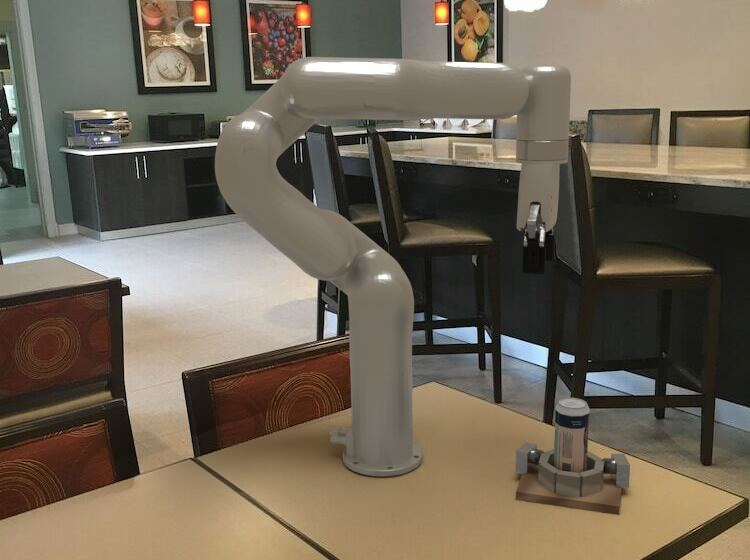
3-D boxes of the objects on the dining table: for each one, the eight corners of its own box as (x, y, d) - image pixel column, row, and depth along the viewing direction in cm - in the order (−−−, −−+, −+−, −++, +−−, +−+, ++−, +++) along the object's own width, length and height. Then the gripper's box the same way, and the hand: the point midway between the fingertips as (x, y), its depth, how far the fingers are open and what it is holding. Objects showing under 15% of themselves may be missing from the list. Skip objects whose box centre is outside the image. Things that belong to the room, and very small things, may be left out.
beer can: (593, 485, 113) (597, 406, 110) (564, 490, 112) (567, 411, 109) (574, 470, 117) (578, 394, 115) (546, 475, 116) (549, 399, 113)
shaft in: (545, 468, 118) (546, 446, 118) (535, 477, 116) (536, 455, 115) (525, 462, 120) (525, 441, 119) (515, 472, 117) (516, 450, 116)
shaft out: (605, 487, 112) (607, 464, 112) (600, 475, 116) (601, 453, 115) (628, 487, 112) (630, 464, 111) (622, 475, 116) (624, 453, 115)
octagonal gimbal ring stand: (515, 499, 112) (516, 472, 111) (527, 465, 122) (528, 440, 121) (619, 514, 107) (620, 486, 106) (622, 477, 118) (623, 451, 117)
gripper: (525, 148, 125) (522, 254, 129) (505, 156, 109) (503, 277, 113) (573, 148, 123) (569, 256, 127) (561, 157, 107) (556, 280, 111)
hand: (538, 266), depth 120 cm, fingers open, 9 cm apart
